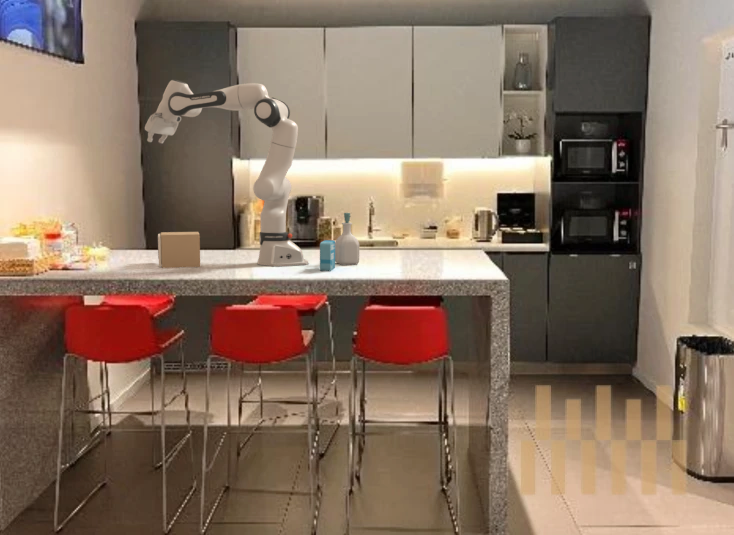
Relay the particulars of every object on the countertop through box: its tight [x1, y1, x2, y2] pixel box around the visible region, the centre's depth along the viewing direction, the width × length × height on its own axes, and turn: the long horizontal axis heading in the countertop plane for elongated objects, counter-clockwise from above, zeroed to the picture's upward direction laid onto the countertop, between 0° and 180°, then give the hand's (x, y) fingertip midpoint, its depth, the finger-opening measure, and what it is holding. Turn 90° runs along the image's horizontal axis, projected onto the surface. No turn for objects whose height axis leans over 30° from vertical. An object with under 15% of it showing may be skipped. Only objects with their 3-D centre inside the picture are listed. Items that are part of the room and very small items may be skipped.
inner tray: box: [157, 233, 162, 268], centre depth 354 cm, size 16×17×13 cm
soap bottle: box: [335, 212, 360, 266], centre depth 361 cm, size 10×10×23 cm
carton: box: [160, 231, 201, 269], centre depth 352 cm, size 16×12×14 cm
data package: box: [319, 239, 336, 272], centre depth 344 cm, size 12×4×12 cm, turn 173°
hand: (154, 142), depth 367 cm, fingers open, 8 cm apart
